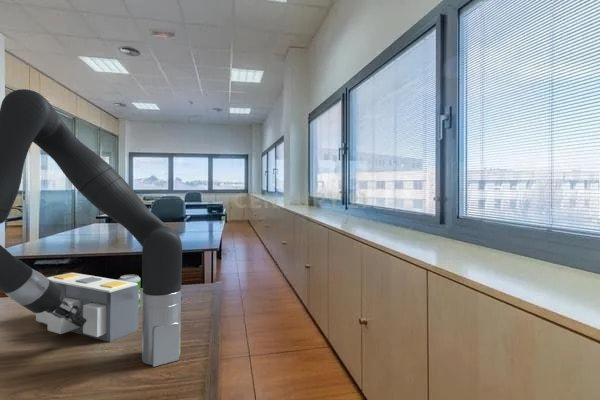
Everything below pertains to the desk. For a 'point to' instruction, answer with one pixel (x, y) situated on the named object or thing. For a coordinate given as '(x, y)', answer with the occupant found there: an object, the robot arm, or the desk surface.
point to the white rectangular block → (42, 317)
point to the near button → (95, 319)
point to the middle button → (61, 324)
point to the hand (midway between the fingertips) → (82, 323)
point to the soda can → (132, 279)
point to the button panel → (104, 301)
